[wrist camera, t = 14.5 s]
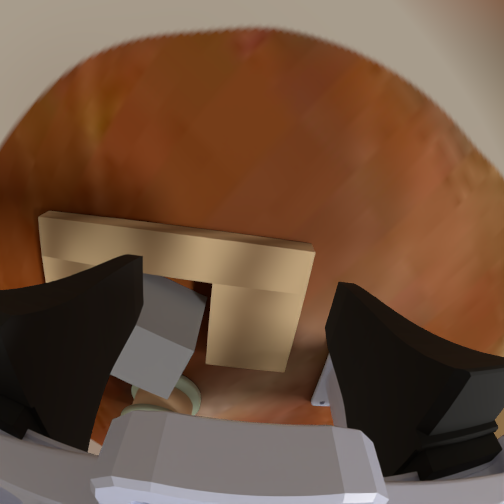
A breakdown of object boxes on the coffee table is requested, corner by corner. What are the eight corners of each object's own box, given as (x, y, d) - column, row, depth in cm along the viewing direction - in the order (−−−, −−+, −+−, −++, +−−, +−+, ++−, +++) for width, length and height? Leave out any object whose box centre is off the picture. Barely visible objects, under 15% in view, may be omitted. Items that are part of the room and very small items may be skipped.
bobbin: (202, 375, 25) (194, 420, 20) (200, 418, 28) (193, 459, 23) (130, 362, 25) (112, 403, 20) (137, 406, 27) (124, 445, 23)
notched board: (311, 243, 21) (315, 252, 19) (282, 359, 24) (284, 372, 23) (49, 210, 20) (38, 216, 18) (63, 322, 23) (55, 332, 22)
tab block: (207, 296, 22) (194, 351, 17) (183, 344, 24) (167, 399, 18) (143, 266, 21) (111, 313, 16) (125, 317, 23) (97, 367, 18)
